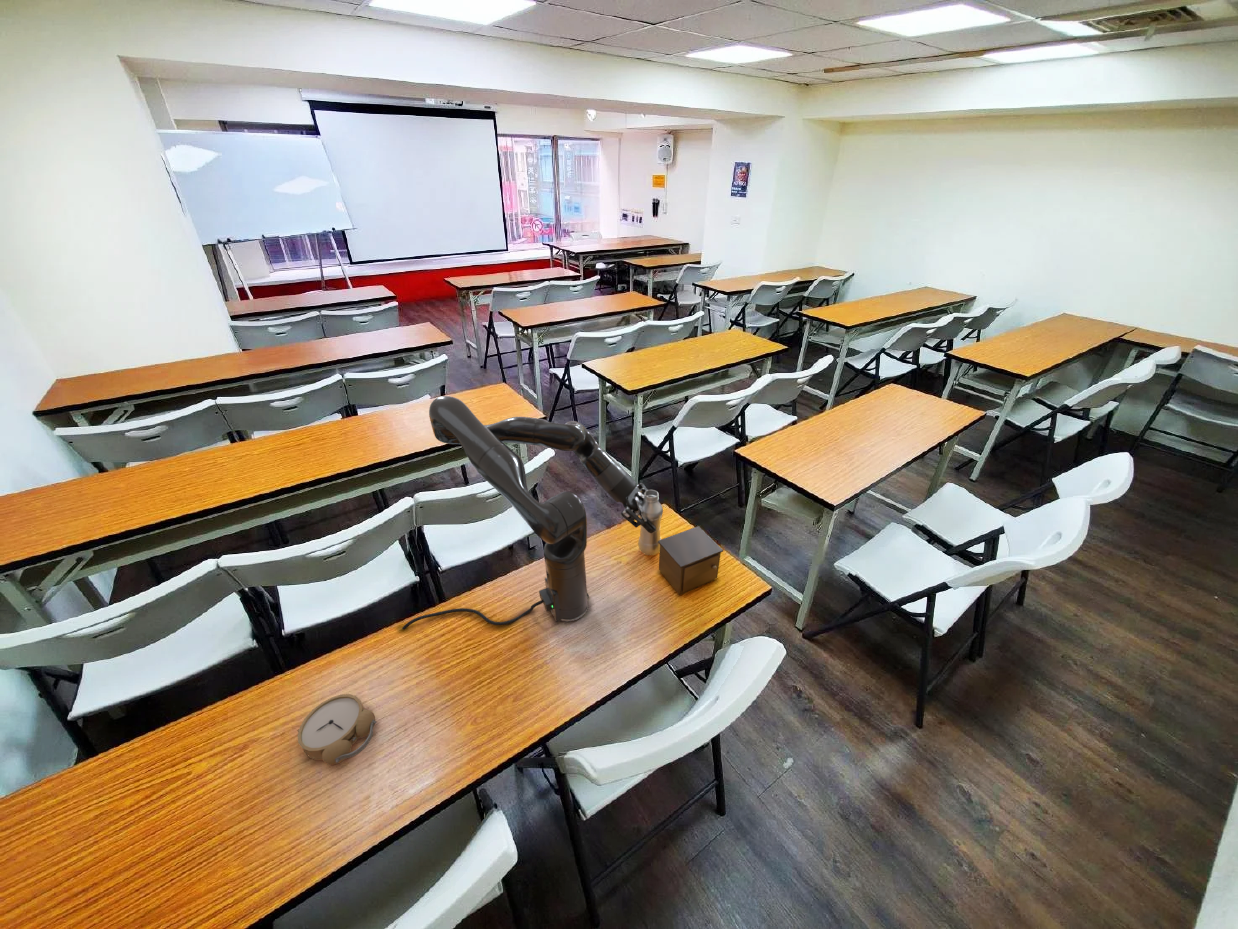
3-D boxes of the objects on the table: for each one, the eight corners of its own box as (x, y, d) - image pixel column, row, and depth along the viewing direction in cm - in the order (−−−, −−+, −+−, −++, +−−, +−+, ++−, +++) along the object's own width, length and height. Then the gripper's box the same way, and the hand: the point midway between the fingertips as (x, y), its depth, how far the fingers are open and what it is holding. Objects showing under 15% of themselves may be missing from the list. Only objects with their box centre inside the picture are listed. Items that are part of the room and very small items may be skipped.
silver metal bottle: (659, 560, 130) (662, 502, 120) (636, 556, 132) (636, 499, 121) (662, 544, 136) (665, 488, 125) (639, 541, 137) (640, 485, 126)
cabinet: (680, 601, 118) (683, 569, 112) (656, 571, 127) (657, 540, 121) (721, 583, 123) (725, 552, 117) (695, 556, 132) (698, 525, 126)
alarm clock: (337, 685, 97) (383, 709, 89) (348, 701, 99) (393, 725, 92) (283, 735, 88) (329, 765, 81) (296, 750, 90) (342, 782, 83)
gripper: (614, 473, 133) (653, 514, 136) (596, 502, 121) (640, 546, 124) (632, 460, 128) (672, 502, 131) (615, 488, 117) (660, 534, 120)
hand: (656, 523), depth 128 cm, fingers closed on silver metal bottle, 6 cm apart
